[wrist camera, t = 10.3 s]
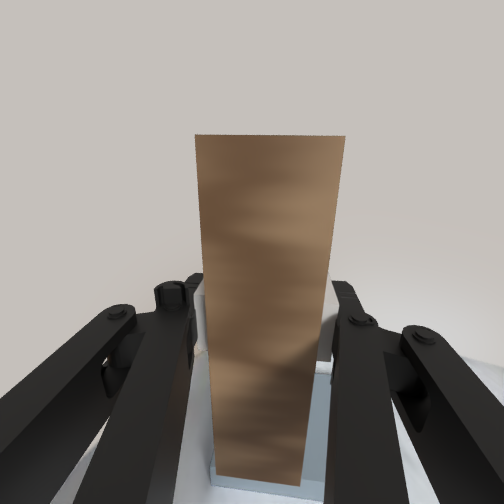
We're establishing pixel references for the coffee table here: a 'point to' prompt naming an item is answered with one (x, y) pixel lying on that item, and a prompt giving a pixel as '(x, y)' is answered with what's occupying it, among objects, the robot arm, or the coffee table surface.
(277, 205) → the tall wooden pillar
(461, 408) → the robot arm
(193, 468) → the coffee table surface
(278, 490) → the tile
